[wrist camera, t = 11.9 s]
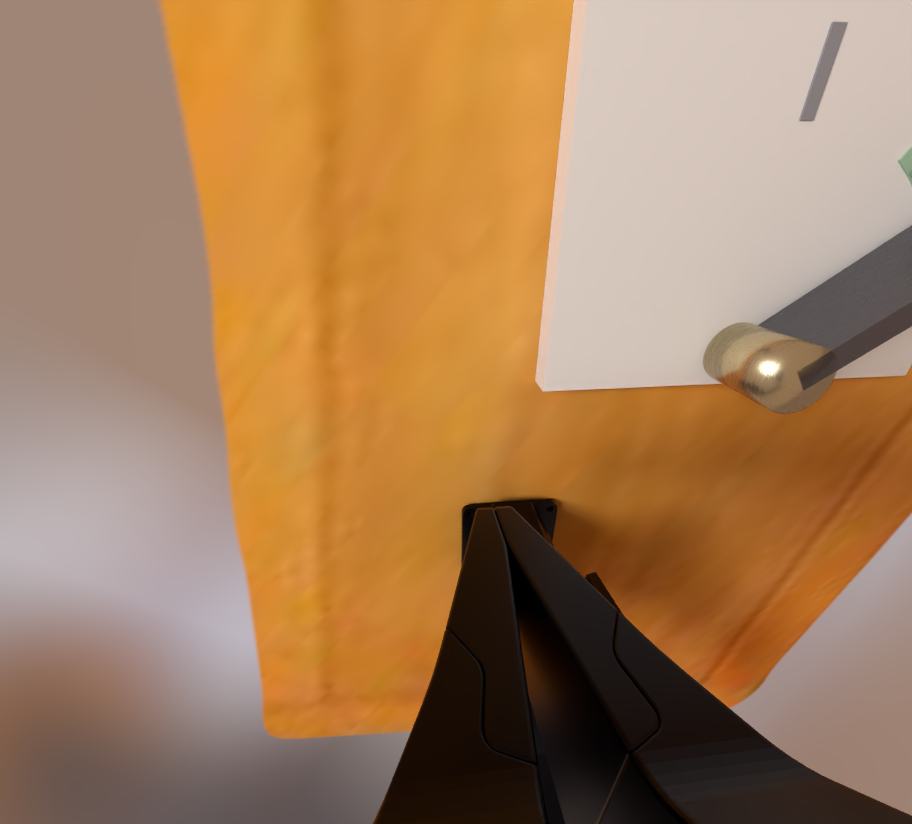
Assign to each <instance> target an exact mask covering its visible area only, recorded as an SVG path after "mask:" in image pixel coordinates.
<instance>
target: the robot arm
mask: <svg viewBox="0 0 912 824" xmlns="http://www.w3.org/2000/svg"><path fill="white" fill-rule="evenodd" d="M549 506H551V507H549ZM547 507H549V508H547ZM468 512H471V513H468ZM556 513H557V505H556V503H555V501H554V500H552V499H546V500H531V501H516V502H502V503H487V504H473V505H466V506H464V507H463V509H462V560H461V571H460V575H459V579H458V583H457V587H456V590H455V594H454V598H453V602H452V606H451V610H450V614H449V618H448V622H447V626H446V630H445V632H444V636H443V640H442V644H441V648H440V652H439V655H438V658H437V662H436V665H435V669H434V672H433V675H432V678H431V681H430V684H429V686H428V689H427V692H426V695H425V697H424V700H423V703H422V706H421V708H420V711H419V713H418V716H417V718H416V721H415V723H414V726H413V728H412V731H411V733H410V736H409V739H408V741H407V743H406V746H405V748H404V751H403V753H402V756H401V759H400V761H399V763H398V766H397V768H396V771H395V774H394V776H393V778H392V781H391V783H390V786H389V788H388V791H387V793H386V795H385V798H384V800H383V802H382V805H381V807H380V809H379V811H378V814H377V816H376V818H375V820H374V822H373V824H912V816H911V815H909V814H907V813H904V812H902V811H900V810H897V809H895V808H893V807H891V806H889V805H886V804H884V803H882V802H880V801H877V800H875V799H873V798H871V797H869V796H866V795H864V794H862V793H859V792H857V791H855V790H853V789H851V788H848V787H846V786H844V785H842V784H840V783H837V782H835V781H833V780H830V779H828V778H826V777H824V776H822V775H820V774H819V773H817V772H815V771H813V770H811V769H809V768H808V767H806V766H804V765H803V764H801V763H800V762H798V761H797V760H795V759H793V758H792V757H790V756H789V755H787V754H786V753H785V752H783V751H782V750H780V749H779V748H778V747H776V746H775V745H774V744H772V743H771V742H770V741H768V740H767V739H766V738H764V737H763V736H762V735H761V734H759V733H758V732H757V731H756V730H755V729H753V728H752V727H751V726H750V725H749V724H748V723H746V722H745V721H744V720H743V719H742V718H740V717H739V716H738V715H737V714H735V713H734V712H733V711H732V710H730V709H729V708H728V707H727V706H726V705H725V704H723V703H722V702H721V701H720V700H719V699H717V698H716V697H715V696H714V695H712V694H711V693H710V692H709V691H708V690H706V689H705V688H704V687H703V686H702V685H700V684H699V683H698V682H697V681H696V680H694V679H693V678H692V677H691V676H690V675H688V674H687V673H686V672H685V671H684V670H682V669H681V668H680V667H679V666H678V665H677V664H676V663H674V662H673V661H672V660H671V659H670V658H669V657H667V656H666V655H665V654H664V653H663V652H662V651H660V650H659V649H658V648H657V647H656V646H655V645H654V644H653V643H652V642H651V641H650V640H649V639H647V638H646V637H645V636H644V635H643V634H642V633H641V632H640V631H639V630H638V629H637V628H636V627H635V626H634V625H633V624H632V623H631V622H629V621H628V620H627V619H626V618H625V617H624V615H623V614H622V612H621V611H620V609H619V608H618V606H617V605H616V603H615V602H614V600H613V598H612V597H611V595H610V594H609V592H608V591H607V589H606V588H605V586H604V585H603V583H602V581H601V580H600V578H599V577H598V575H597V574H596V572H594V573H591V574H587V575H586V577H583V576H582V575H581V574H580V573H579V572H578V571H577V570H576V569H575V568H574V567H573V566H572V565H571V564H570V563H569V562H568V561H567V560H566V559H565V558H564V557H563V556H562V555H561V554H560V553H559V552H558V551H556V550H555V548H554V546H553V543H552V539H553V532H554V526H555V520H556Z"/></svg>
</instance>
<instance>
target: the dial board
mask: <svg viewBox="0 0 912 824" xmlns="http://www.w3.org/2000/svg"><path fill="white" fill-rule="evenodd" d="M911 225H912V0H574V4H573V14H572V24H571V34H570V44H569V54H568V63H567V73H566V83H565V93H564V103H563V113H562V122H561V132H560V142H559V152H558V162H557V172H556V182H555V191H554V201H553V211H552V221H551V231H550V241H549V250H548V260H547V270H546V280H545V290H544V300H543V309H542V319H541V329H540V339H539V349H538V359H537V369H536V378H535V381H536V382H537V384H538V385H539V387H540V388H541V389H542V391H564V390H587V389H610V388H633V387H656V386H679V385H702V384H722V383H721V382H719V381H717V380H715V379H713V378H711V377H710V376H709V375H708V374H707V373H706V372H705V370H704V366H703V357H704V353H705V350H706V348H707V346H708V344H709V343H710V341H711V340H712V339H713V338H714V337H715V336H716V335H717V334H718V333H719V332H720V331H721V330H723V329H724V328H726V327H728V326H730V325H732V324H735V323H740V322H747V323H752V324H755V325H759V324H760V323H762V322H763V321H765V320H767V319H768V318H770V317H771V316H773V315H774V314H776V313H777V312H779V311H780V310H782V309H783V308H785V307H787V306H788V305H790V304H791V303H793V302H794V301H796V300H797V299H799V298H800V297H802V296H803V295H805V294H807V293H808V292H810V291H811V290H813V289H814V288H816V287H817V286H819V285H820V284H822V283H823V282H825V281H827V280H828V279H830V278H831V277H833V276H834V275H836V274H837V273H839V272H840V271H842V270H843V269H845V268H847V267H848V266H850V265H851V264H853V263H854V262H856V261H857V260H859V259H860V258H862V257H863V256H865V255H867V254H868V253H870V252H871V251H873V250H874V249H876V248H877V247H879V246H880V245H882V244H883V243H885V242H887V241H888V240H890V239H891V238H893V237H894V236H896V235H897V234H899V233H900V232H902V231H903V230H905V229H907V228H908V227H910V226H911ZM911 365H912V327H910V328H908V329H906V330H905V331H903V332H901V333H900V334H898V335H896V336H895V337H893V338H891V339H890V340H888V341H886V342H885V343H883V344H881V345H880V346H878V347H876V348H875V349H873V350H871V351H870V352H868V353H866V354H865V355H863V356H861V357H859V358H858V359H856V360H854V361H853V362H851V363H849V364H848V365H846V366H844V367H843V368H841V369H839V370H838V371H837V372H836V375H835V377H834V379H839V378H862V377H885V376H905V375H906V374H907V372H908V370H909V369H910V367H911Z"/></svg>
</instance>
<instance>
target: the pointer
mask: <svg viewBox="0 0 912 824" xmlns="http://www.w3.org/2000/svg"><path fill="white" fill-rule="evenodd" d="M910 327H912V225H911V226H910V227H908V228H907V229H905V230H903V231H902V232H900V233H899V234H897V235H896V236H894V237H893V238H891V239H890V240H888V241H887V242H885V243H883V244H882V245H880V246H879V247H877V248H876V249H874V250H873V251H871V252H870V253H868V254H867V255H865V256H863V257H862V258H860V259H859V260H857V261H856V262H854V263H853V264H851V265H850V266H848V267H847V268H845V269H843V270H842V271H840V272H839V273H837V274H836V275H834V276H833V277H831V278H830V279H828V280H827V281H825V282H823V283H822V284H820V285H819V286H817V287H816V288H814V289H813V290H811V291H810V292H808V293H807V294H805V295H803V296H802V297H800V298H799V299H797V300H796V301H794V302H793V303H791V304H790V305H788V306H787V307H785V308H783V309H782V310H780V311H779V312H777V313H776V314H774V315H773V316H771V317H770V318H768V319H767V320H765V321H763V322H762V323H760V324H759V325H755V324H752V323H747V322H740V323H735V324H732V325H730V326H728V327H726V328H724V329H723V330H721V331H720V332H719V333H718V334H717V335H716V336H715V337H714V338H713V339H712V340H711V341H710V343H709V344H708V346H707V348H706V350H705V353H704V357H703V366H704V370H705V372H706V373H707V374H708V375H709V376H710V377H711V378H713V379H715V380H717V381H719V382H721V383H722V384H724V385H726V386H728V387H730V388H731V389H733V390H735V391H737V392H739V393H741V394H742V395H744V396H746V397H748V398H750V399H752V400H753V401H755V402H757V403H759V404H761V405H762V406H764V407H766V408H768V409H770V410H772V411H773V412H776V413H781V414H788V413H793V412H797V411H800V410H802V409H804V408H806V407H808V406H809V405H811V404H813V403H814V402H815V401H817V400H818V399H819V398H820V397H821V396H822V395H823V394H824V393H825V392H826V391H827V389H828V388H829V387H830V385H831V383H832V382H833V380H834V377H835V375H836V372H837V371H838V370H839V369H841V368H843V367H844V366H846V365H848V364H849V363H851V362H853V361H854V360H856V359H858V358H859V357H861V356H863V355H865V354H866V353H868V352H870V351H871V350H873V349H875V348H876V347H878V346H880V345H881V344H883V343H885V342H886V341H888V340H890V339H891V338H893V337H895V336H896V335H898V334H900V333H901V332H903V331H905V330H906V329H908V328H910Z"/></svg>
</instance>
